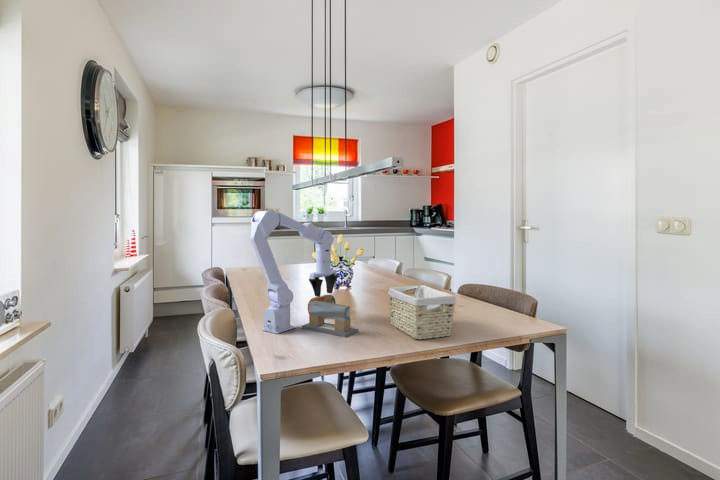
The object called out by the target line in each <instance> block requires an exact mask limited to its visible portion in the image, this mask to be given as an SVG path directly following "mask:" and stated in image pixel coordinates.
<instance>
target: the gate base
mask: <svg viewBox="0 0 720 480" xmlns="http://www.w3.org/2000/svg"><path fill="white" fill-rule="evenodd" d="M308 319H309V320H308V323H305V324H302V325H301V329H304V330H309V331H314V332H318V333H322V334H328V335H332V336H338V337H342V338H347V337H350V336H351V335H354V334H357V333H358V332H359V328H356V327H351V318H350V319H348V320H345V321H343V320H337V319H334V323H329V322H325V317H321V316H315V315H309V314H308Z"/></svg>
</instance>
